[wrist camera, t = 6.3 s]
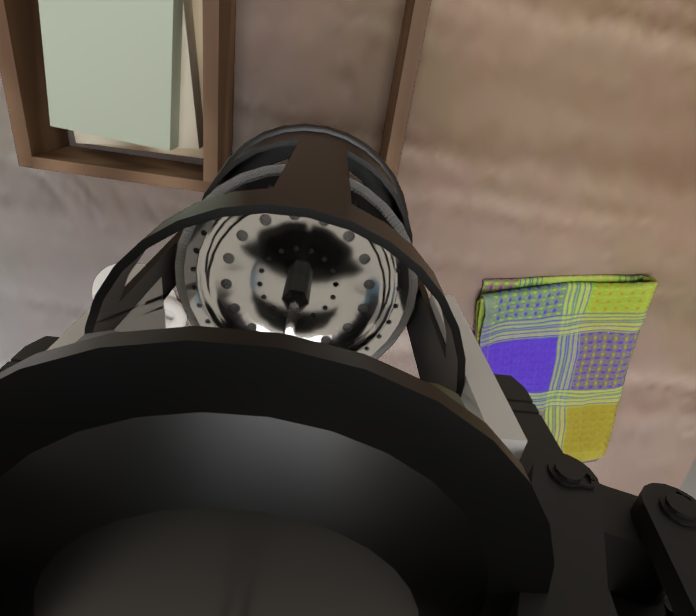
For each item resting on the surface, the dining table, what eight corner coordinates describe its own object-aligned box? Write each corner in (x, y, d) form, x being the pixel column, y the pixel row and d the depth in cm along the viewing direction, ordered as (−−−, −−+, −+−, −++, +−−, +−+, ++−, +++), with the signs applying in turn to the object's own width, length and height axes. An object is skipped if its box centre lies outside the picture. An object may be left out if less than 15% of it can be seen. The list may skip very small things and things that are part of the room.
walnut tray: (57, 154, 36) (19, 166, 32) (18, -102, 29) (-40, -132, 24) (383, 200, 39) (388, 218, 34) (425, -25, 31) (439, -40, 27)
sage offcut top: (65, 122, 32) (50, 125, 31) (52, -47, 28) (33, -55, 26) (178, 146, 33) (169, 151, 32) (183, -14, 29) (173, -19, 27)
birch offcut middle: (89, 139, 35) (76, 143, 33) (47, -56, 29) (28, -64, 27) (205, 144, 35) (198, 148, 33) (187, -47, 29) (177, -54, 28)
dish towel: (655, 269, 43) (674, 281, 40) (597, 452, 54) (609, 471, 52) (473, 276, 43) (481, 289, 40) (453, 458, 54) (459, 476, 52)
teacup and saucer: (202, 306, 44) (190, 328, 40) (152, 352, 46) (136, 376, 42) (127, 243, 40) (106, 260, 37) (77, 295, 43) (53, 316, 39)
